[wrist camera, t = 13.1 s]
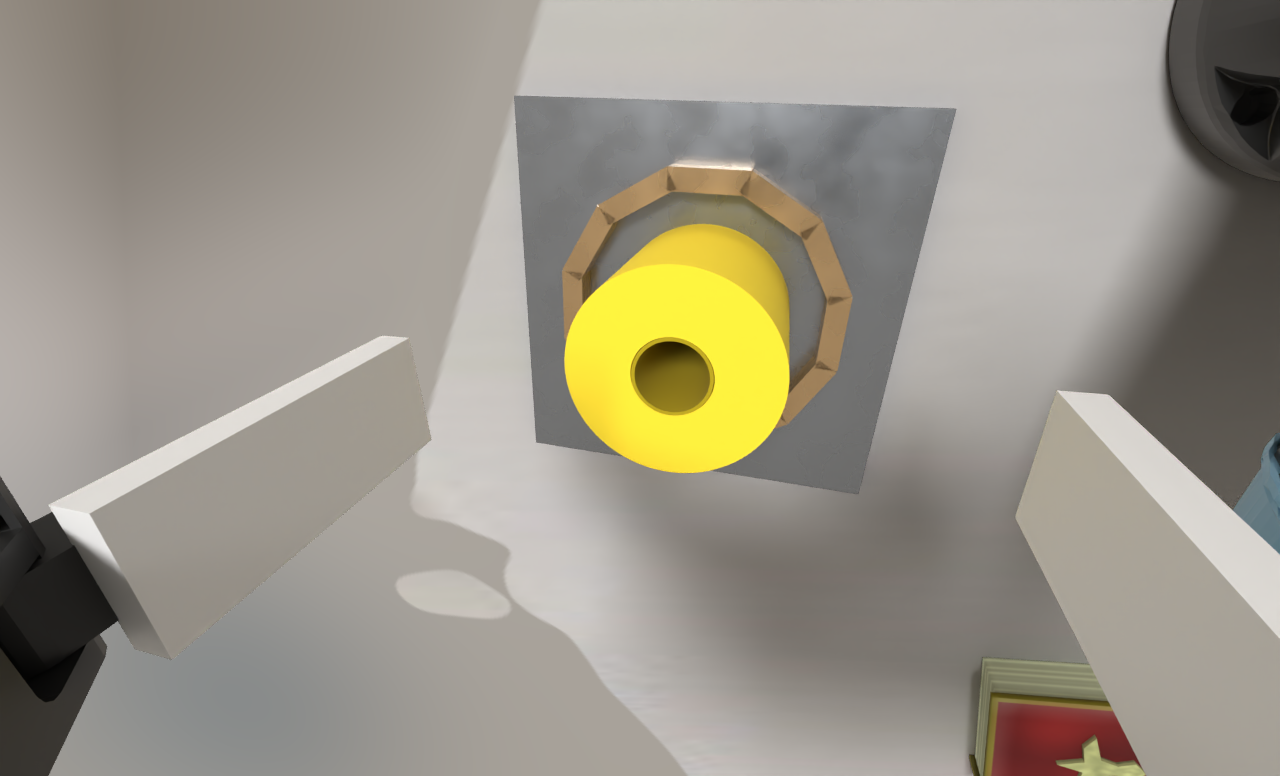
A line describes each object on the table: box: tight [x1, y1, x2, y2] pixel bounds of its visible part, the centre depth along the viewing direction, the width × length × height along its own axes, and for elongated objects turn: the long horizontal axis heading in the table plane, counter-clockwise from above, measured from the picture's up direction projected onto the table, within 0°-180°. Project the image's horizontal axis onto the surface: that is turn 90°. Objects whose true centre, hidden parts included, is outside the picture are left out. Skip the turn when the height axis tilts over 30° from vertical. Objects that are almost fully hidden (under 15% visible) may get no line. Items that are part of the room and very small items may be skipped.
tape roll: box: [565, 224, 790, 473], centre depth 29 cm, size 10×10×9 cm
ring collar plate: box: [514, 96, 956, 494], centre depth 32 cm, size 22×22×2 cm
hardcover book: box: [969, 657, 1146, 776], centre depth 38 cm, size 12×21×4 cm, turn 101°
